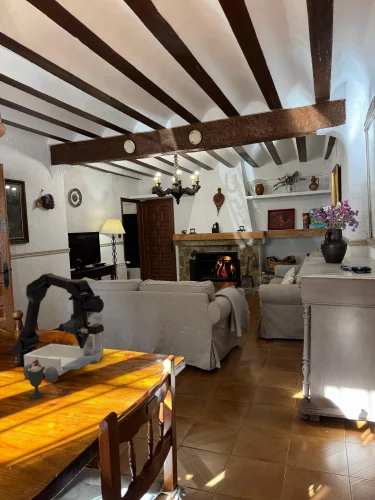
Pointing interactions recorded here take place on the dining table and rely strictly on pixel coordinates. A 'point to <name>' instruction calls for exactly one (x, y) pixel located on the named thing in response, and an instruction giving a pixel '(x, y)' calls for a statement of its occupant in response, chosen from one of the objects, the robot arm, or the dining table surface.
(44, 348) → the cart
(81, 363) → the panel
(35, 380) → the sundae
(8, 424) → the dining table surface
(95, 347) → the juice carton
